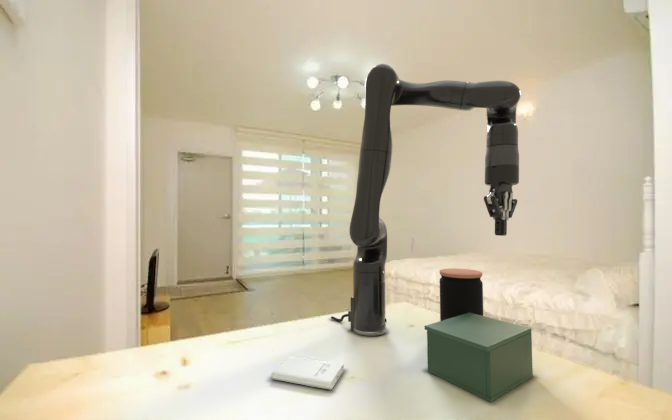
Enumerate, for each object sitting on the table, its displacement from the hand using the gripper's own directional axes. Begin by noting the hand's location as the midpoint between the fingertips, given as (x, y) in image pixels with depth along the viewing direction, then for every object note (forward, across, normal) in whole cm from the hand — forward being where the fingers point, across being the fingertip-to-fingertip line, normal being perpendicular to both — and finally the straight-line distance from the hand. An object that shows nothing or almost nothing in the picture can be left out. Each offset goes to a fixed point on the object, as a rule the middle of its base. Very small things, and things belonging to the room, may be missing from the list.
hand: (500, 235), depth 76 cm
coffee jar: (+28, +1, -9) cm, 30 cm away
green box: (+28, +15, +3) cm, 32 cm away
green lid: (+19, +16, +3) cm, 25 cm away
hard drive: (+30, +43, -18) cm, 55 cm away
